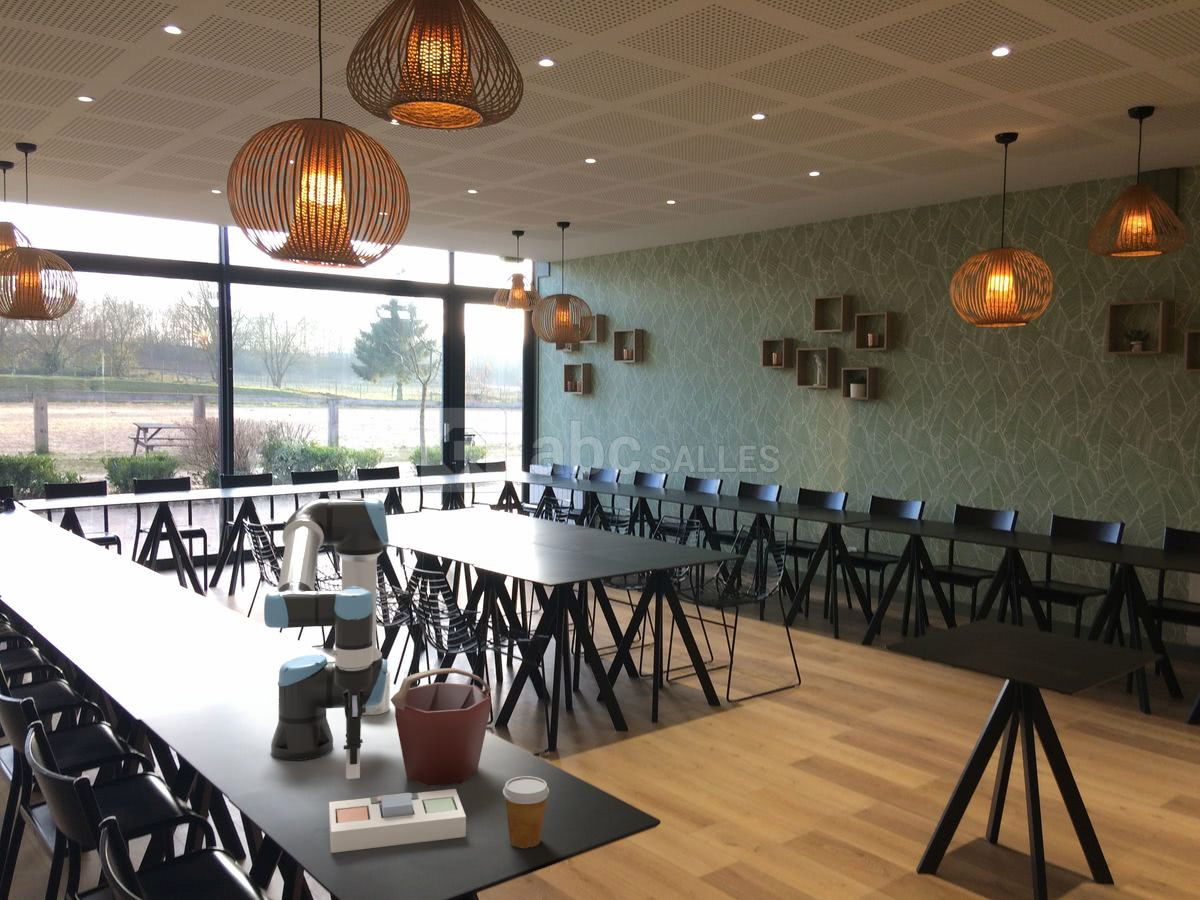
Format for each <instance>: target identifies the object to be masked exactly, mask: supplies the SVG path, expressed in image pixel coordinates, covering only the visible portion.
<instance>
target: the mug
mask: <svg viewBox="0 0 1200 900" xmlns="http://www.w3.org/2000/svg"><path fill="white" fill-rule="evenodd" d="M390 685H391V671H390V669H389V668H387V674H386V684H385V690H384V695H383V699H382V701H381V703H380V704H378V705H375V706H366V707H362V716H376V715H377V716H378V715H381V714H384V713H387V712H388V711H389V710H390V706H391V705H390V703H391V702H390V701H391V699H390V698H391V697H390V696H391V695H390V694H391V692H390V691H391V687H390Z"/></svg>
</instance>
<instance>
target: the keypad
mask: <svg viewBox="0 0 1200 900" xmlns="http://www.w3.org/2000/svg"><path fill="white" fill-rule="evenodd" d="M409 793H410V796H411V800H412V803H413V815H406V816H397V817H388V818H383V815H382V810H381V796H382V795H380V796H379V795H378V796H375V797H366V798H365V797H364V798H356V799H346V800H337V801H329V802H328V804H329V805H328V807H329V809H328V810H329V811H328V819H329V820H328V823H329V824H328V825H329V844H330V846H329V847H330V853H331V854H333V853H340V852H348V851H349V852H351V851H357V850H358V851H359V850H364V849H373V848H374V849H375V848H383V847H389V846H390V847H391V846H399V845H408V844H415V843H416V844H417V843H424V842H432V841H433V842H434V841H441V840H449V839H456V838H457V839H459V838H465V837H467V836H466V835H467V829H466V827H467V815H466V813H465V809H464V808H463V805H462V803H461V799H460V797H459V794H458V792H457V788H452V789H444V790H443V789H441V790H440V789H439V790H434V791H433V790H431V791H423V792H413V793H412V792H409ZM445 798H452V800H453V803H454V806H455V809H456V810H451V811H442V812H433V813H425V810H424V801H427V800H436V799H445ZM362 807H367V814H368V820H361V821H352V822H343V823H337V810H343V809H353V808H362Z"/></svg>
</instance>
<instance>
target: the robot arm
mask: <svg viewBox="0 0 1200 900" xmlns="http://www.w3.org/2000/svg"><path fill="white" fill-rule="evenodd" d="M282 531H283V532H282V543H283V544H284V551H283V557H282V563H281V569H280V573H279V574H280V575H279V582H278V588H277V590H276V591H271V592H268V593H266V595H265V598H264V605H263V606H264V607H263V618H264V619H263V621H264V624H265V626H266V627H267V628H269V629H270V628H274V629H275V628H276V629H278V628H280V629H281V628H282V629H287V628H288V629H289V628H290V629H292V628H309V627H310V628H311V627H319V628H320V627H334V632H335V633H334V634H335V635H334V637H335V638H334V639H335V640H334V641H335V642H334V649H335V650H332V651H331V655H332V656H334V661H328V659H327V656H325V655H323V654H320V655H319V654H309V655H303V656H299V657H296V658H292V659H290V660H288V661H286V662H284V663H283V664H282V665H281V666H280V668H279V671H278V681H277V686H278V722H277V726H276V727H275V728H276V729H275V731H274V733H273V737H272V740H271V744H270V752H271V754H272V756H274V757H275V758H277V759H280V760H284V761H285V760H286V761H303V760H311V759H315V758H319V757H323V756H325V755H327V754H328V753H330V752H331V751H332V750H333V748H334V737H333V734H332V730H331V728H330V724H329V721H328V718H327V710H328V709H342V708H344V715H345V719H346V721H345V722H346V723H345V725H346V726H345V729H346V730H345V731H346V732H345V738H346V740H345V743H346V745H343V750H346V751H345V778H346V780H351V779H359V778H360V777H361V775H360V774H361V747H362V744H363V743H364V742H363V738H361V735H362V733H361V732H362V731H361V729H362V728H361V727H362V726H361V725H362V716H363V715H362V707H366V706H375V705H378V704H380V703H381V701H382V699H383V695H384V690H385V684H386V674H387V669H388V660H387V659H384V658H383V653H382V652H381V650H380V649H378V648H377V583H378V580H377V575H378V574H377V573H378V571H377V567H378V566H377V565H378V557H379V556H380V555H381V554H382V553H384V546H386V545H389V544H390V543H389V542H390V541H389V532H388V524H387V515H386V509H385V504H384V502H383V500H380V499H377V498H368V497H360V498H359V497H356V498H354V497H352V498H351V497H350V498H349V497H348V498H347V497H346V498H319V499H314V500H312V501H310V502H308V503H305V504H304V505H302V506H301V507H300V508H297V510H296V511H294V512H293V513H292V514H291V516H290V517H289V518H288V519H287V521H286V523H285V525H284V527H283V530H282ZM322 546H335V553H336V554H337V555H338V556H339V558H340V559H341V590H339V589H338V590H315V582H316V574H317V573H316V572H317V563H318V555H319V550H320V548H321V547H322Z"/></svg>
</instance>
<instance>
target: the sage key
mask: <svg viewBox="0 0 1200 900" xmlns="http://www.w3.org/2000/svg"><path fill="white" fill-rule="evenodd" d="M424 810H425V813H433V812H442V811H451V810H456V809H455V806H454V803H453V800H452V798H445V799H436V800H427V801H424Z"/></svg>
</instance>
